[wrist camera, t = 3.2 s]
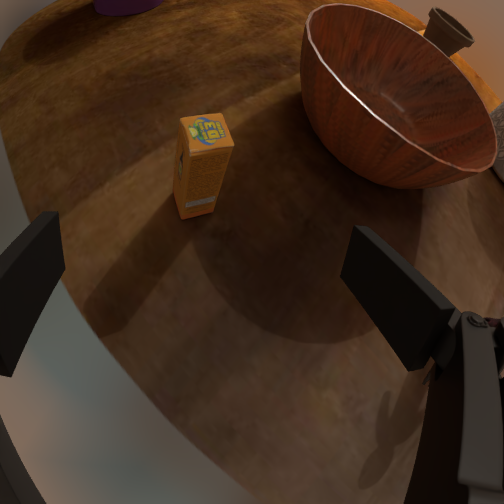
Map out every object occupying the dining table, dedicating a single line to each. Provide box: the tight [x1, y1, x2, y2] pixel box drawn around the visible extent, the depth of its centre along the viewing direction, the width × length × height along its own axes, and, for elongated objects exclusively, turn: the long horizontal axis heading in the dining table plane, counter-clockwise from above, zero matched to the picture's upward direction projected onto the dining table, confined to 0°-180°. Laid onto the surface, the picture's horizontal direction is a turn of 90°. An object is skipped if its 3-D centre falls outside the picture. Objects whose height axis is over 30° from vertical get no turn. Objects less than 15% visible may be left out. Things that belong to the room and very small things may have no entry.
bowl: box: [300, 3, 497, 189], centre depth 32 cm, size 25×25×11 cm
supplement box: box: [173, 113, 234, 220], centre depth 24 cm, size 3×3×10 cm
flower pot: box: [423, 7, 475, 57], centre depth 48 cm, size 12×11×10 cm
